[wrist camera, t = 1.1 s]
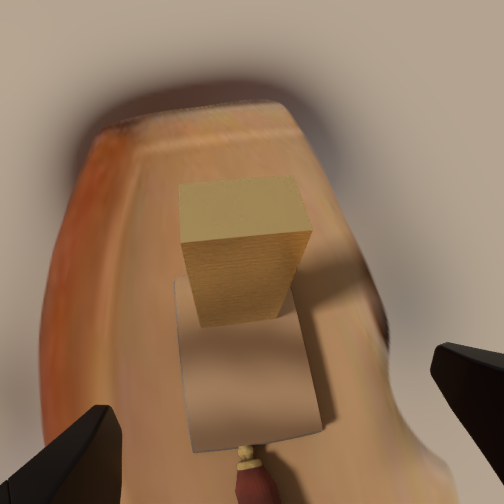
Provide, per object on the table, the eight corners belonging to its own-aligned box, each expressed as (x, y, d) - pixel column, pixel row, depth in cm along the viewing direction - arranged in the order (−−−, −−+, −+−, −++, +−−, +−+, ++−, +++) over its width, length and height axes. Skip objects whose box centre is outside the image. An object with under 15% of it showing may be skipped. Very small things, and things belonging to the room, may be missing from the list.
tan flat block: (319, 431, 17) (326, 431, 16) (193, 452, 16) (190, 454, 15) (283, 271, 24) (286, 261, 23) (174, 283, 23) (171, 274, 21)
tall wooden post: (276, 318, 20) (312, 230, 12) (200, 328, 19) (180, 242, 11) (266, 274, 22) (291, 170, 13) (196, 282, 21) (178, 178, 13)
